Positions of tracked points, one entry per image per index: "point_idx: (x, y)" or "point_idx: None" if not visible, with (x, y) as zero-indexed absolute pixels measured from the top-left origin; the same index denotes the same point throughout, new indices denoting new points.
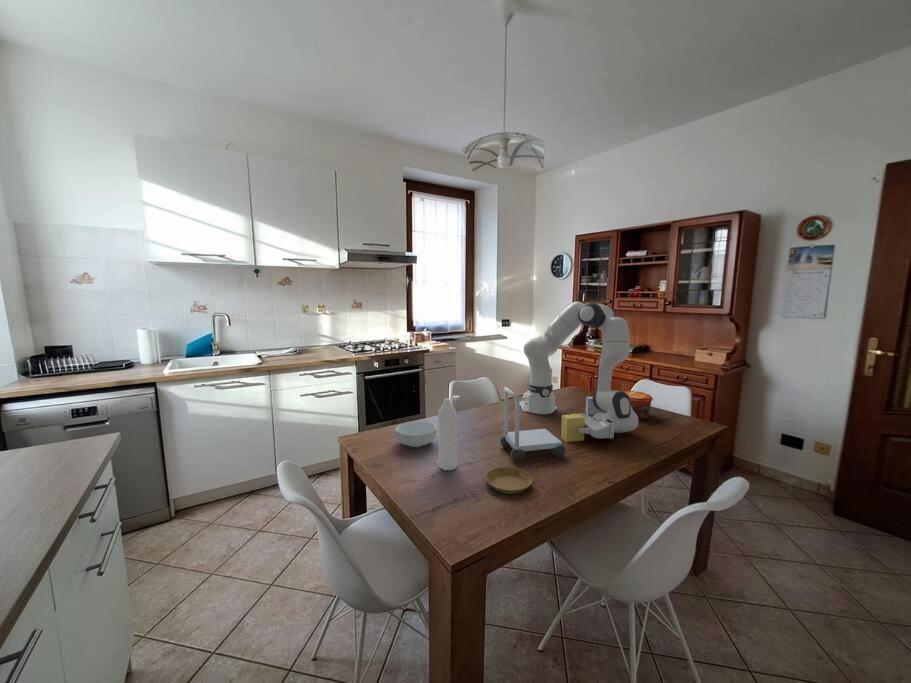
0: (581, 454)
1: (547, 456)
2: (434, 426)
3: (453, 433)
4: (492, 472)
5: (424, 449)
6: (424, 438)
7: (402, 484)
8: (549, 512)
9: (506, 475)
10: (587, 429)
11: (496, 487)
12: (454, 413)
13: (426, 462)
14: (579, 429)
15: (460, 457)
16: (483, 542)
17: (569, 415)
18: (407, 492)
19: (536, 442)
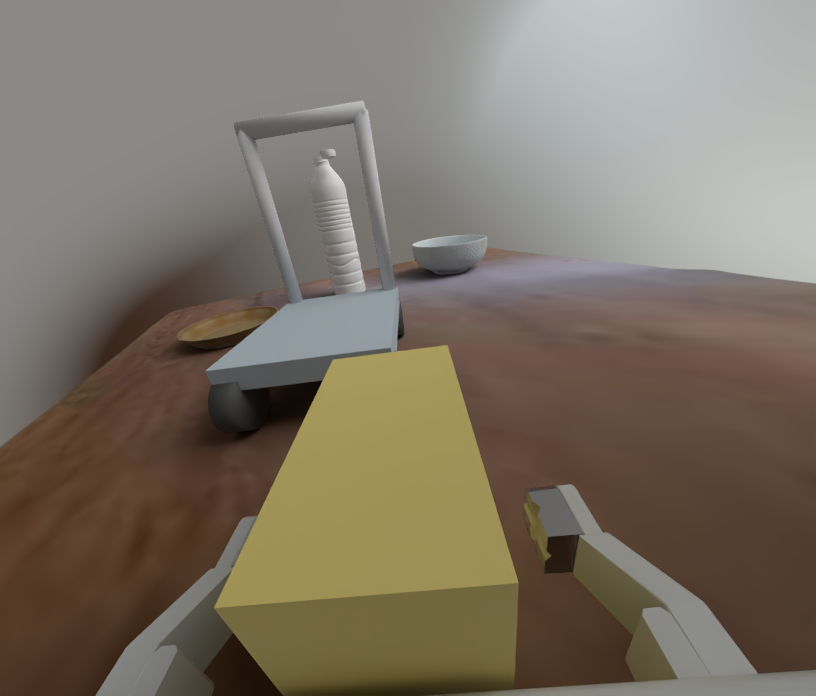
0: (168, 538)
1: (281, 398)
2: (458, 245)
3: (320, 229)
4: (275, 312)
5: (424, 276)
6: (414, 254)
7: (329, 281)
8: (107, 364)
9: None
10: (141, 641)
11: (222, 313)
12: (311, 187)
13: (376, 282)
14: (242, 523)
15: None
16: (164, 320)
17: (424, 391)
18: (308, 285)
19: (278, 323)
